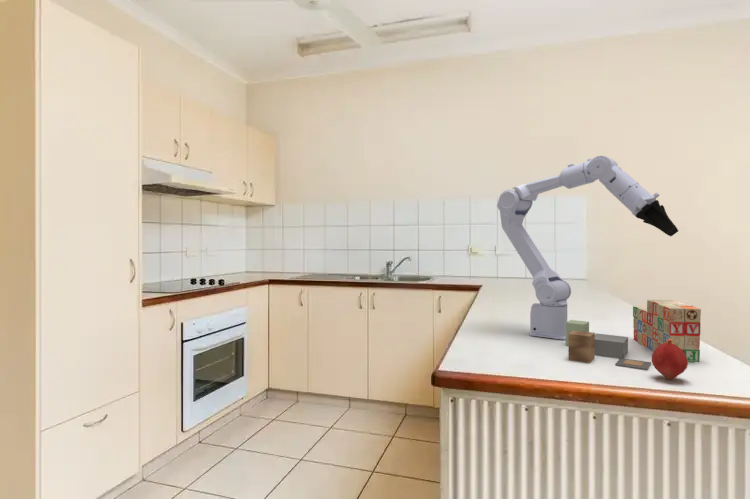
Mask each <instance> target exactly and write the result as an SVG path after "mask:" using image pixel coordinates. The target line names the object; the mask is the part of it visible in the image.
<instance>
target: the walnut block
mask: <svg viewBox="0 0 750 499" xmlns="http://www.w3.org/2000/svg"><path fill="white" fill-rule="evenodd" d="M595 334H596V333H595V332H591V331H589V332H583V331H572V332H571V333H569V334H568V346H567V347H568V361H573V362H579V363H585V364H586V363H587V364H591V363H592V362H594V360H595V359H596V358H595V357H596V355H595Z"/></svg>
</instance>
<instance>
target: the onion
mask: <svg viewBox="0 0 750 499" xmlns="http://www.w3.org/2000/svg"><path fill="white" fill-rule="evenodd" d="M688 364H689V362H688V360H687V357H686V355H685V353H684V352H683V351H682V350H681V349H680V348H679V347H678V346H676V345H675V344H674V343H673V340H672V339H668V340H667V341H666V342H665V343H663V344H661V345H659V346H658V347H657V348H656V349H655V351H654V352H653V351H652V354H651V365H652V366H653V367H654V369H655V370H656V371H657V372H658V373H660V374H661V375H662V376H663V377H665V379H666V380H674V379H675V378H676V377H678V376H680V375H682V374H683V373H684V372H685V371H686V370H687V368H688Z"/></svg>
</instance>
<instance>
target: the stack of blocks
mask: <svg viewBox="0 0 750 499" xmlns="http://www.w3.org/2000/svg"><path fill="white" fill-rule="evenodd" d="M646 300H647V302H646V305H633V306H632V316H633V321H632V322H633V323H632V324H633V327H632V328H633V340H635V341H636V342H638V344H640V345H642V346H643V347H645V348H646V349H648V350H650V351H652V353H653V352H654V351H655V349H656V348H657V347H658V346H659V345H661V344H663V343H665V342H666V341H667V340H668V339H672V340H673V343H674V344H675V345H676V346H678V347H679V348H680V349H681V350H682V351H683V352H684V353H685V355H686V357H687V360H688V363H694V362H699V363H700V362H701V361H700V356H701V349H700V345H701V344H700V343H701V337H700V336H701V315H702V312H701V311H702V310H701V308H699V307H696V306H694V305H692V304H689V303H685V302H682V301H678V300H675V299H646Z"/></svg>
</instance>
